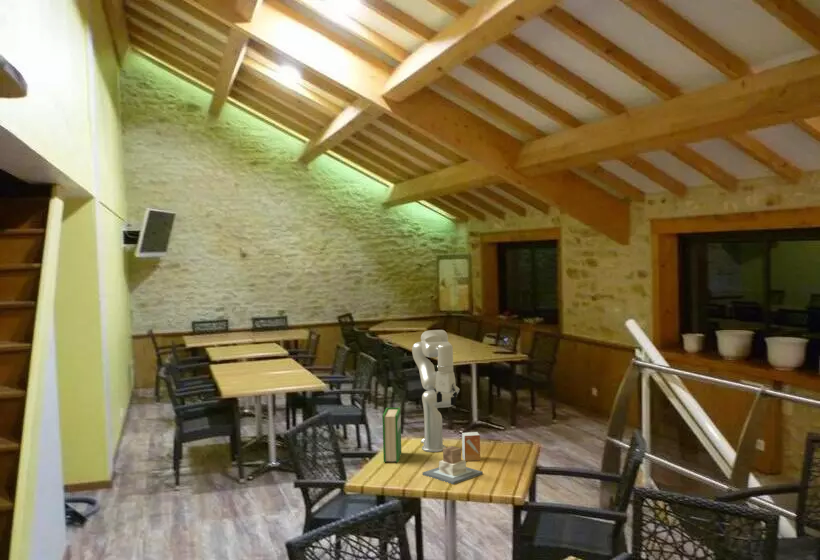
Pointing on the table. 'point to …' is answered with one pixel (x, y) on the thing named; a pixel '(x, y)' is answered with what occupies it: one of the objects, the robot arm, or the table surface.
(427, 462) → the table surface
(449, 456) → the walnut cube
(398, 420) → the hardback book
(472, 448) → the small box
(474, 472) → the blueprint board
